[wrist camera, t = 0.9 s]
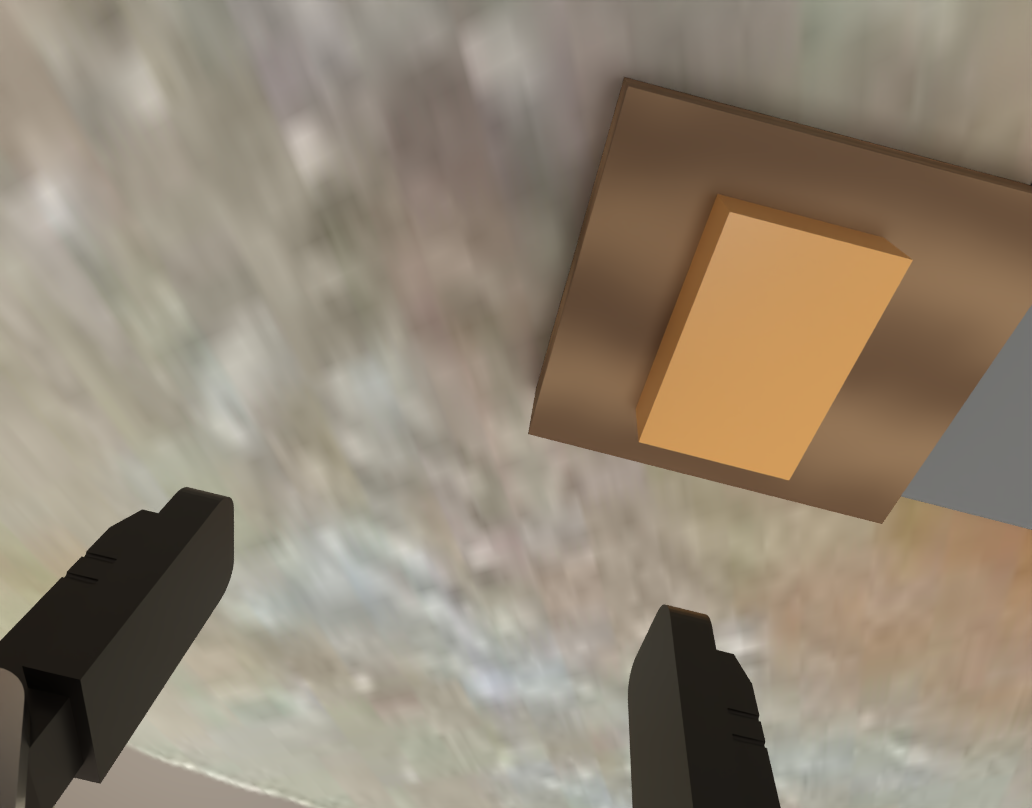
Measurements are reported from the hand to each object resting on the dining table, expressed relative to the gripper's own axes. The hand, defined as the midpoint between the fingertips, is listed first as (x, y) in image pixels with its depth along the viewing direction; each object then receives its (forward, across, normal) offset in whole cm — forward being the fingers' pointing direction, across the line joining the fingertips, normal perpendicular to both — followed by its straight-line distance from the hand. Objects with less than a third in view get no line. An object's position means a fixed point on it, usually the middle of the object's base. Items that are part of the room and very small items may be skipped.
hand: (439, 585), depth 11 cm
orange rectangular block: (+15, -9, 0) cm, 17 cm away
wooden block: (+20, -10, 0) cm, 22 cm away
